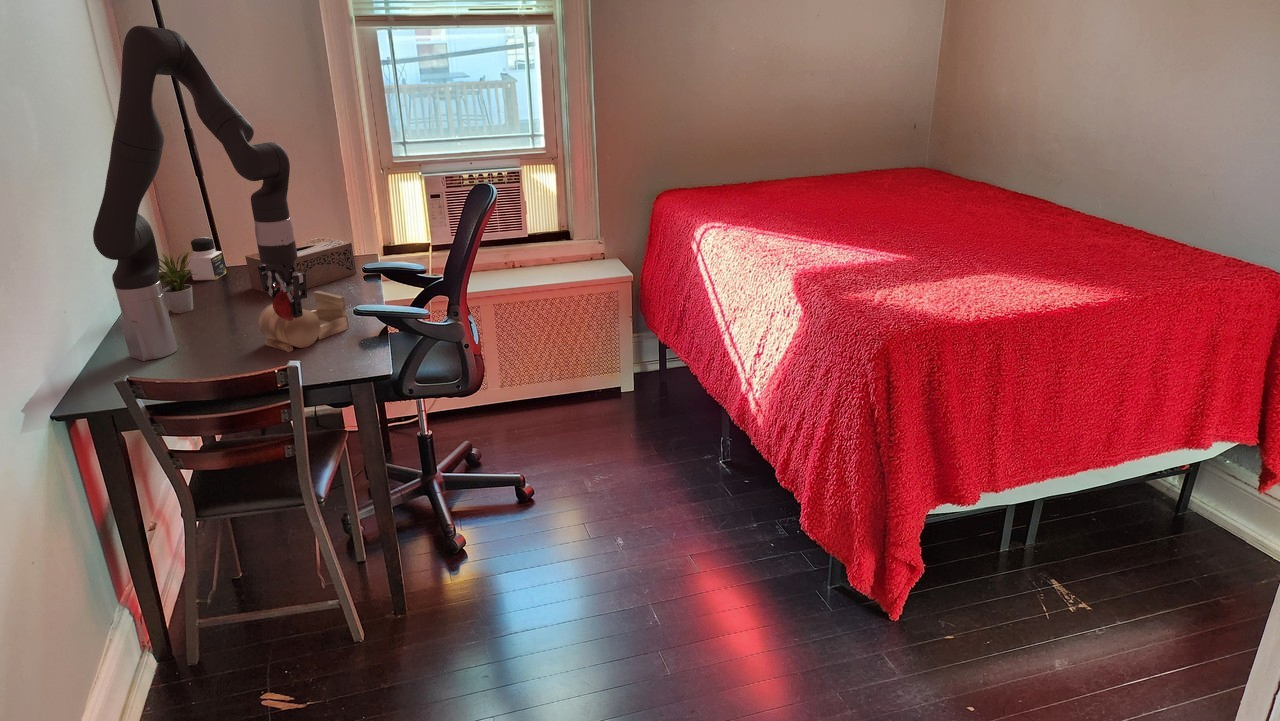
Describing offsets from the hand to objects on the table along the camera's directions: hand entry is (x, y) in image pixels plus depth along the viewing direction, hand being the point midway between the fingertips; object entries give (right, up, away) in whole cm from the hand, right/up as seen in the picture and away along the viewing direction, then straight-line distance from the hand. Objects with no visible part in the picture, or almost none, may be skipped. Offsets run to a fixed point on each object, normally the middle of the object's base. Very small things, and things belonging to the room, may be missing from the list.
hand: (288, 313), depth 185 cm
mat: (-4, -2, +26) cm, 27 cm away
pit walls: (-4, -2, +26) cm, 27 cm away
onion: (0, -2, +1) cm, 2 cm away
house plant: (-47, +4, +44) cm, 65 cm away
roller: (-7, -6, +18) cm, 20 cm away
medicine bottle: (-54, +15, +72) cm, 91 cm away
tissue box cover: (-23, +13, +66) cm, 71 cm away
